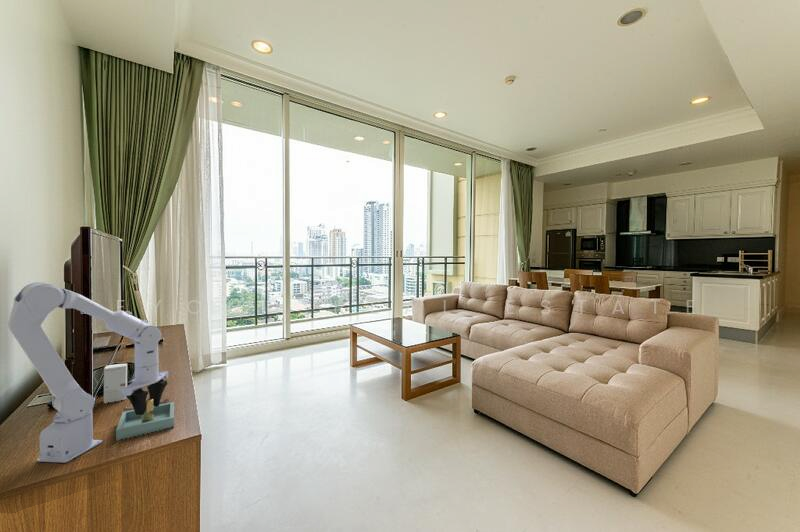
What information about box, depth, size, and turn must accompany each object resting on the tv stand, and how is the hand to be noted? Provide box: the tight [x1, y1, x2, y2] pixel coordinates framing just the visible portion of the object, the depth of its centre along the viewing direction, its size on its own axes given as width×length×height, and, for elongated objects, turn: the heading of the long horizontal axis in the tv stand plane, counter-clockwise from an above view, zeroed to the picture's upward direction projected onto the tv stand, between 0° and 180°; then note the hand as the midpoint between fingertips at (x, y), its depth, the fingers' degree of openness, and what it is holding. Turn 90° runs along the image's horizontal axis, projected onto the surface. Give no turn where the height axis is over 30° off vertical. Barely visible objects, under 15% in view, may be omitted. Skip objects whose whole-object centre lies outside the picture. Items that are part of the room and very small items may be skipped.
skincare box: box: [103, 362, 128, 404], centre depth 118 cm, size 6×4×12 cm
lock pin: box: [141, 396, 154, 423], centre depth 100 cm, size 3×3×7 cm
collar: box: [123, 396, 170, 412], centre depth 112 cm, size 8×8×2 cm
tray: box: [115, 401, 175, 442], centre depth 100 cm, size 13×13×3 cm
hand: (147, 410), depth 100 cm, fingers open, 5 cm apart
